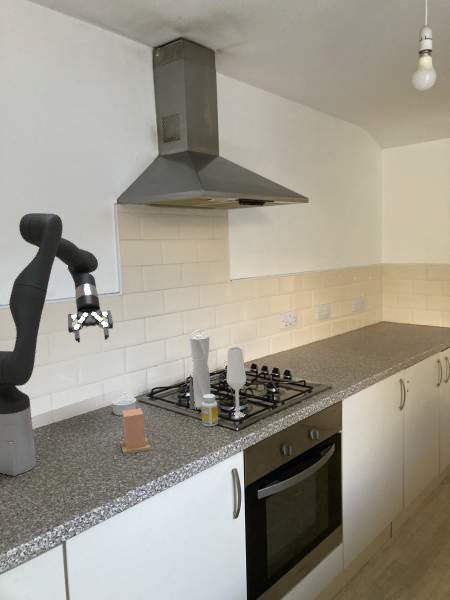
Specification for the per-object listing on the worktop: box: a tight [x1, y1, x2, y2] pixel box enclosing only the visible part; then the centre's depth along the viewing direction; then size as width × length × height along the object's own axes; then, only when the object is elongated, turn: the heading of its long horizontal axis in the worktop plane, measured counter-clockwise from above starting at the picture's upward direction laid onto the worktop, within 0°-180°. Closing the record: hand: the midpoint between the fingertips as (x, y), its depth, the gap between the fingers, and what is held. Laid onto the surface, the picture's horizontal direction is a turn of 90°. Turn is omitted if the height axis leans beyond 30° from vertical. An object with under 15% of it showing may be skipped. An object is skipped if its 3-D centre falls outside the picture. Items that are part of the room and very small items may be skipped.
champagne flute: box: [226, 346, 247, 417], centre depth 169 cm, size 7×7×24 cm
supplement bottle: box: [200, 393, 219, 427], centre depth 165 cm, size 5×5×10 cm
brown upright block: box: [121, 407, 146, 449], centre depth 149 cm, size 6×6×10 cm
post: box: [119, 436, 152, 455], centre depth 149 cm, size 8×8×8 cm
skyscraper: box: [188, 328, 211, 410], centre depth 182 cm, size 8×8×28 cm
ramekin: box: [111, 396, 137, 416], centre depth 180 cm, size 9×9×4 cm
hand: (92, 339), depth 159 cm, fingers open, 8 cm apart
